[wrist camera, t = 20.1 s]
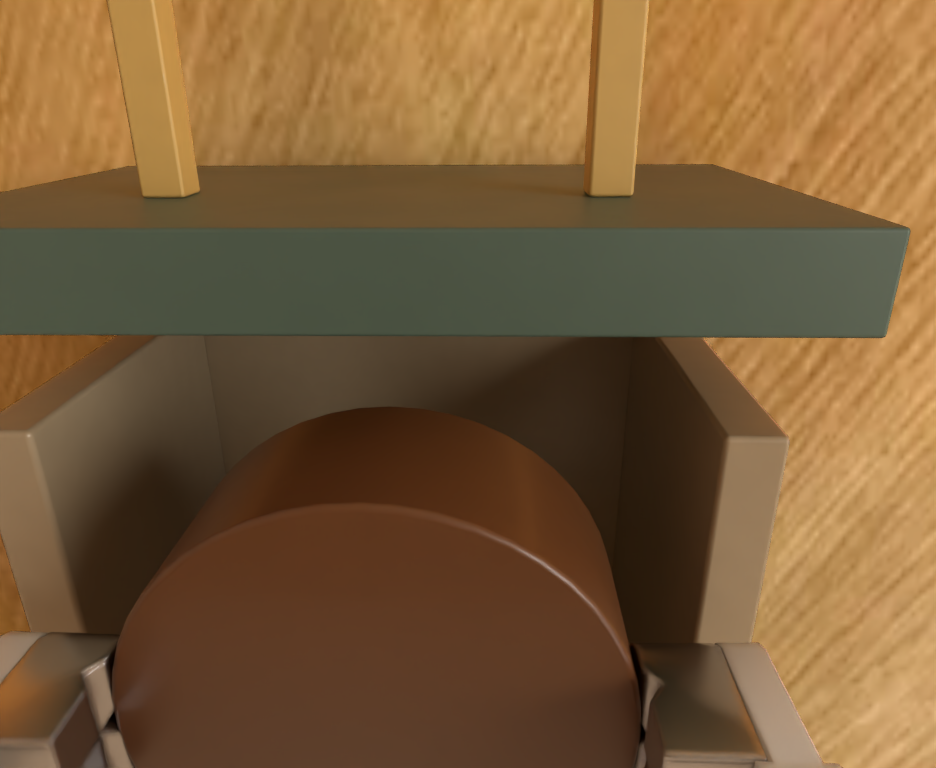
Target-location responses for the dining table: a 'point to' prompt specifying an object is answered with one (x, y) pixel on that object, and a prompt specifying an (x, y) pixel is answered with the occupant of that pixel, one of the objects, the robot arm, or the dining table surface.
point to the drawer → (416, 335)
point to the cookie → (382, 611)
